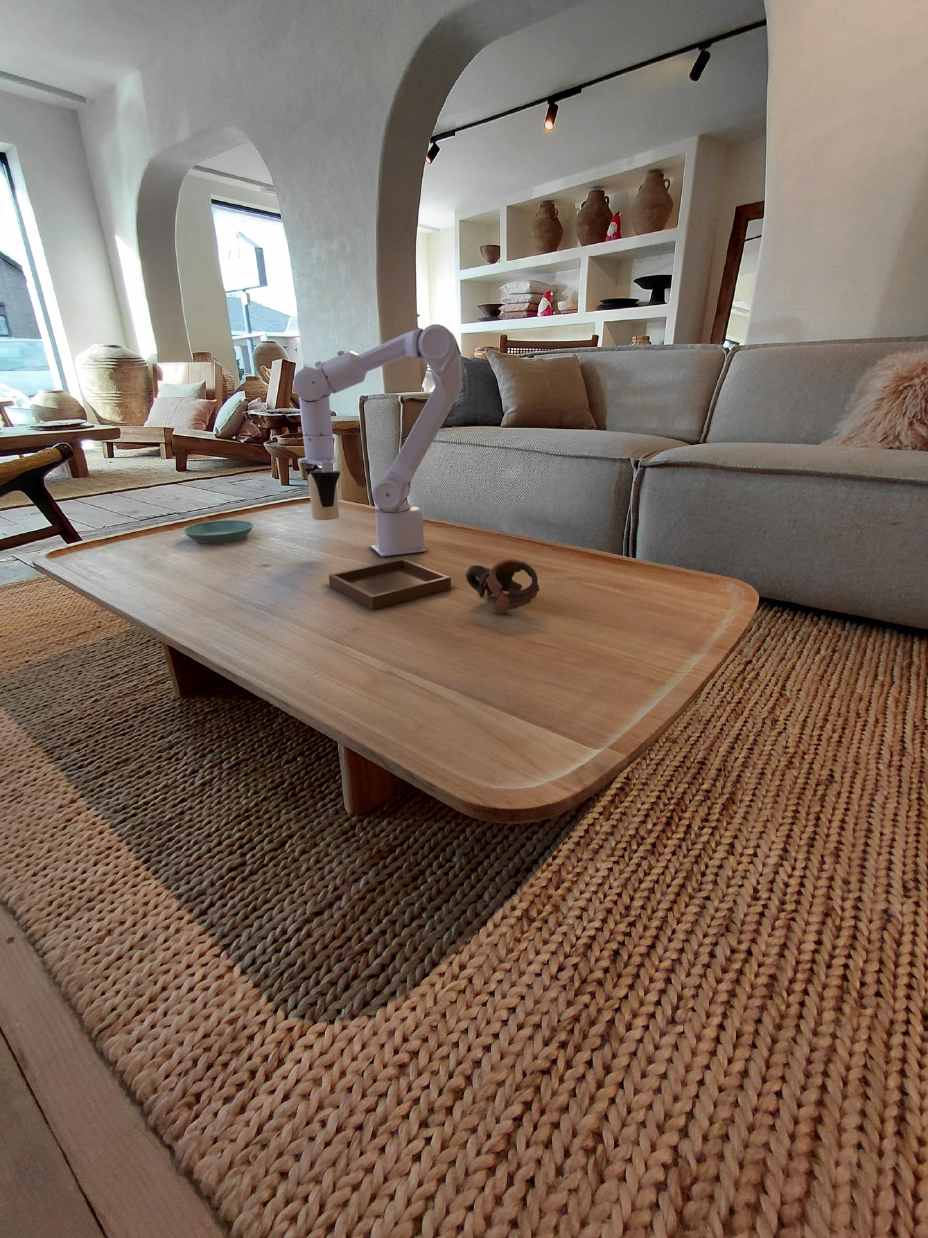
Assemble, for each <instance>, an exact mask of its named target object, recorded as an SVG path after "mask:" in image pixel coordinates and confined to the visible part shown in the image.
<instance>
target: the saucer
mask: <svg viewBox="0 0 928 1238" xmlns="http://www.w3.org/2000/svg"><path fill="white" fill-rule="evenodd" d="M253 527H254V523H253V522H250V521H246V520H237V519H236V520H235V519H231V520H230V519H229V520H228V519H227V520H225V519H224V520H211V521H205V522H200V523H195V524H192V525H189V526H187V527H185V528H184V529H183V533H184V534H185V535H186V536H187V537H188V538H189V539H191V540H192V541H194V542H196V543H198V544H205V545H215V544H217V545H218V544H227V543H233V542H237V541H240V540H242V539H245V538H246V537H247V536H248V535H249V534H250V532H251V531H252V529H253Z"/></svg>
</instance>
